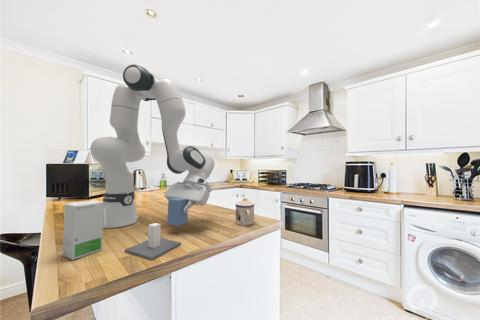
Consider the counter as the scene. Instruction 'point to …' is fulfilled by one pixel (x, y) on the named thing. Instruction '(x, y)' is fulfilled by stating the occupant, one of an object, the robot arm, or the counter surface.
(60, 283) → the counter surface
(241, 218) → the teacup with lid
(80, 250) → the skincare box
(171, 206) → the blue block
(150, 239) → the post
